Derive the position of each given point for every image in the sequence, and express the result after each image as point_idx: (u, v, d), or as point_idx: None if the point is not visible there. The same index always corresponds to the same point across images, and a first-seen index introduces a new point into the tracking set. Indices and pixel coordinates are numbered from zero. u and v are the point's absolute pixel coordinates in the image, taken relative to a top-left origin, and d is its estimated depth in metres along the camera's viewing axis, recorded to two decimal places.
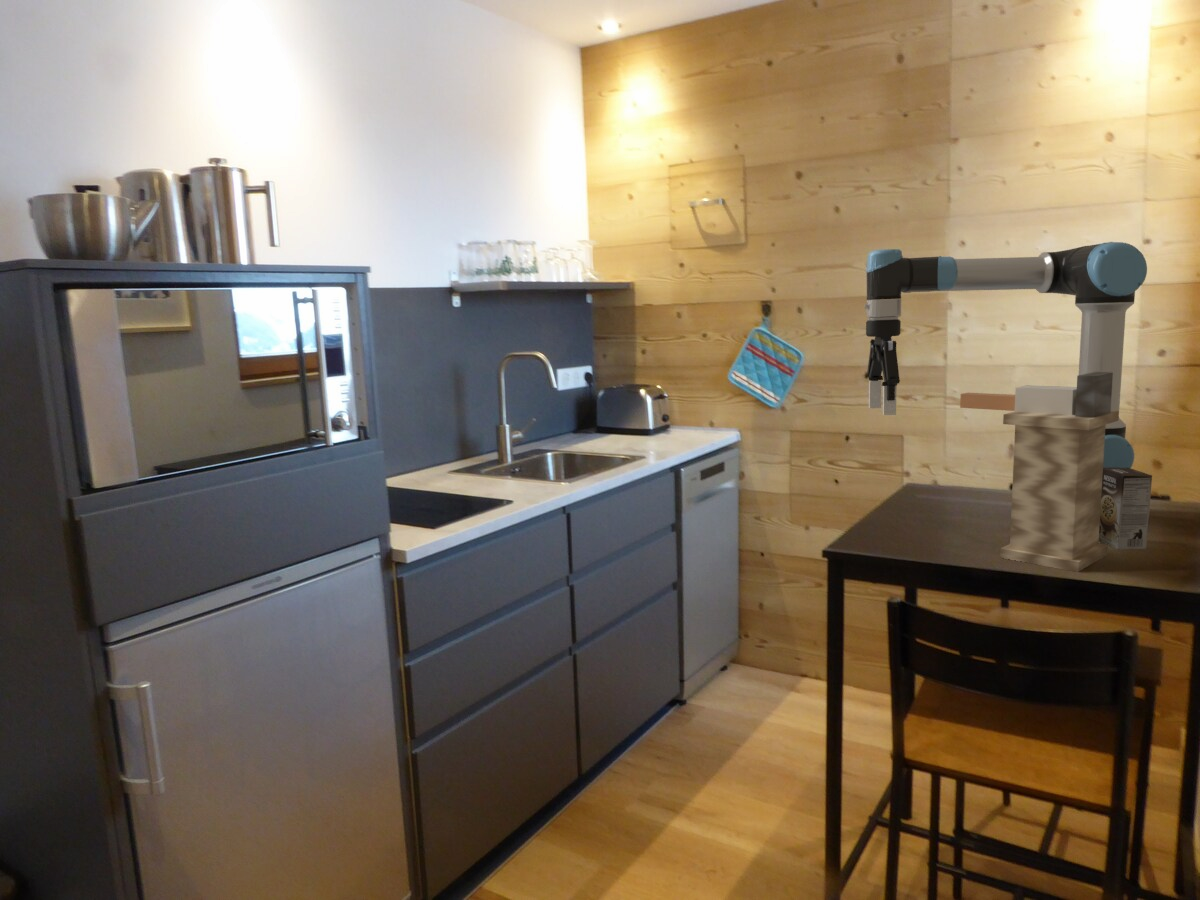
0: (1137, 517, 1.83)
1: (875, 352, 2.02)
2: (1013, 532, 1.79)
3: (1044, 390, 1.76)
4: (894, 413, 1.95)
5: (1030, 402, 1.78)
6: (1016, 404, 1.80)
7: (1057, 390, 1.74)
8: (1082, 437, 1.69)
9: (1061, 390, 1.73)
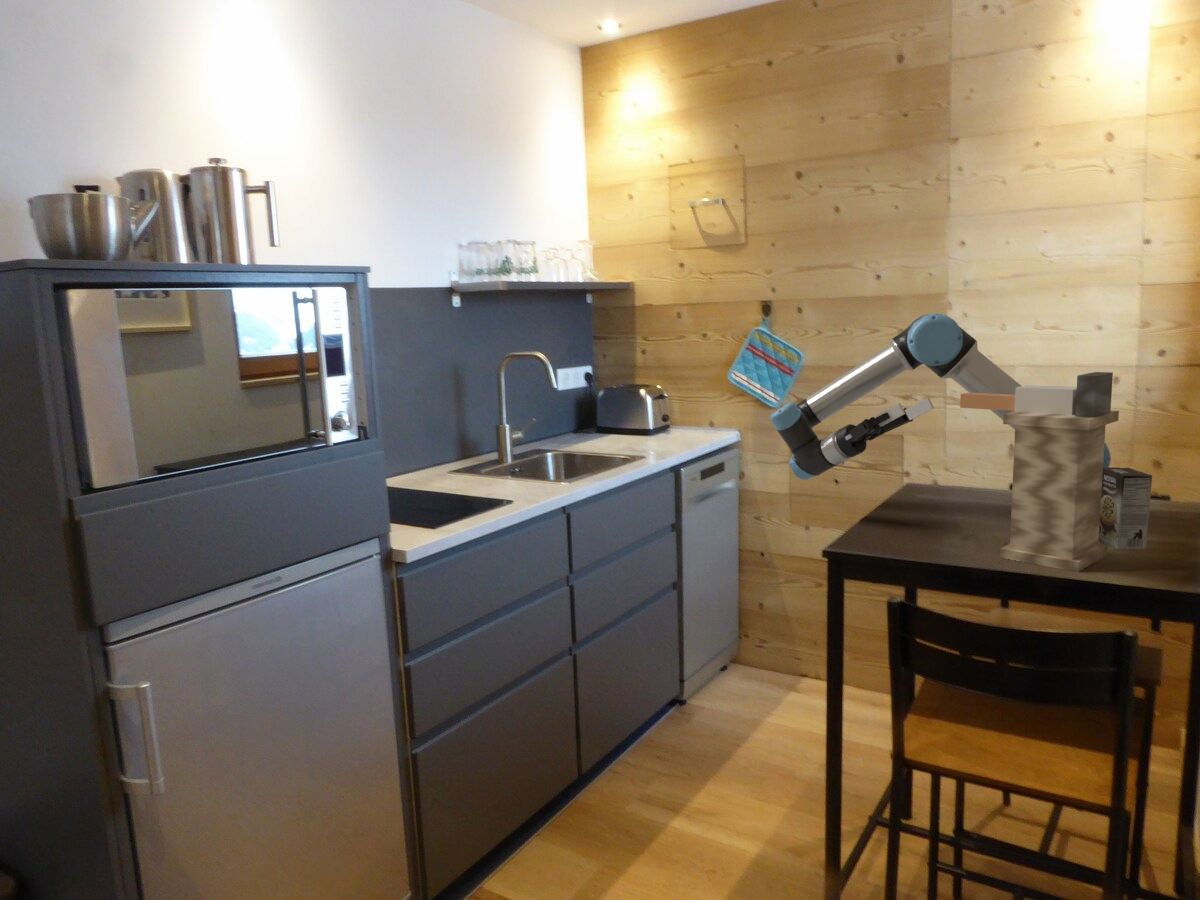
0: (1137, 517, 1.83)
1: (875, 434, 2.09)
2: (1013, 532, 1.79)
3: (1044, 390, 1.76)
4: (898, 405, 1.95)
5: (1030, 402, 1.78)
6: (1016, 404, 1.80)
7: (1057, 390, 1.74)
8: (1082, 437, 1.69)
9: (1061, 390, 1.73)
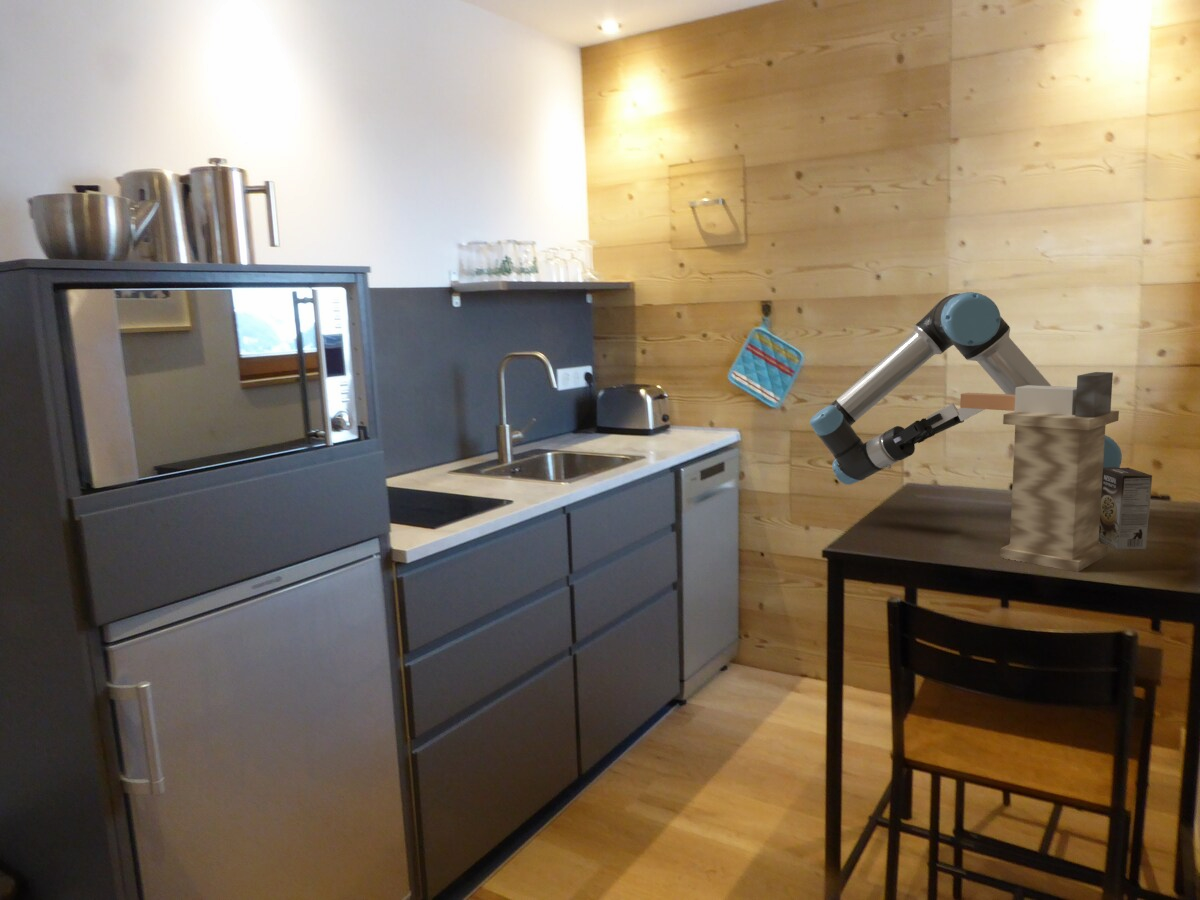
0: (1137, 517, 1.83)
1: (924, 437, 2.00)
2: (1013, 532, 1.79)
3: (1044, 390, 1.76)
4: (951, 405, 1.85)
5: (1030, 402, 1.78)
6: (1016, 404, 1.80)
7: (1057, 390, 1.74)
8: (1082, 437, 1.69)
9: (1061, 390, 1.73)
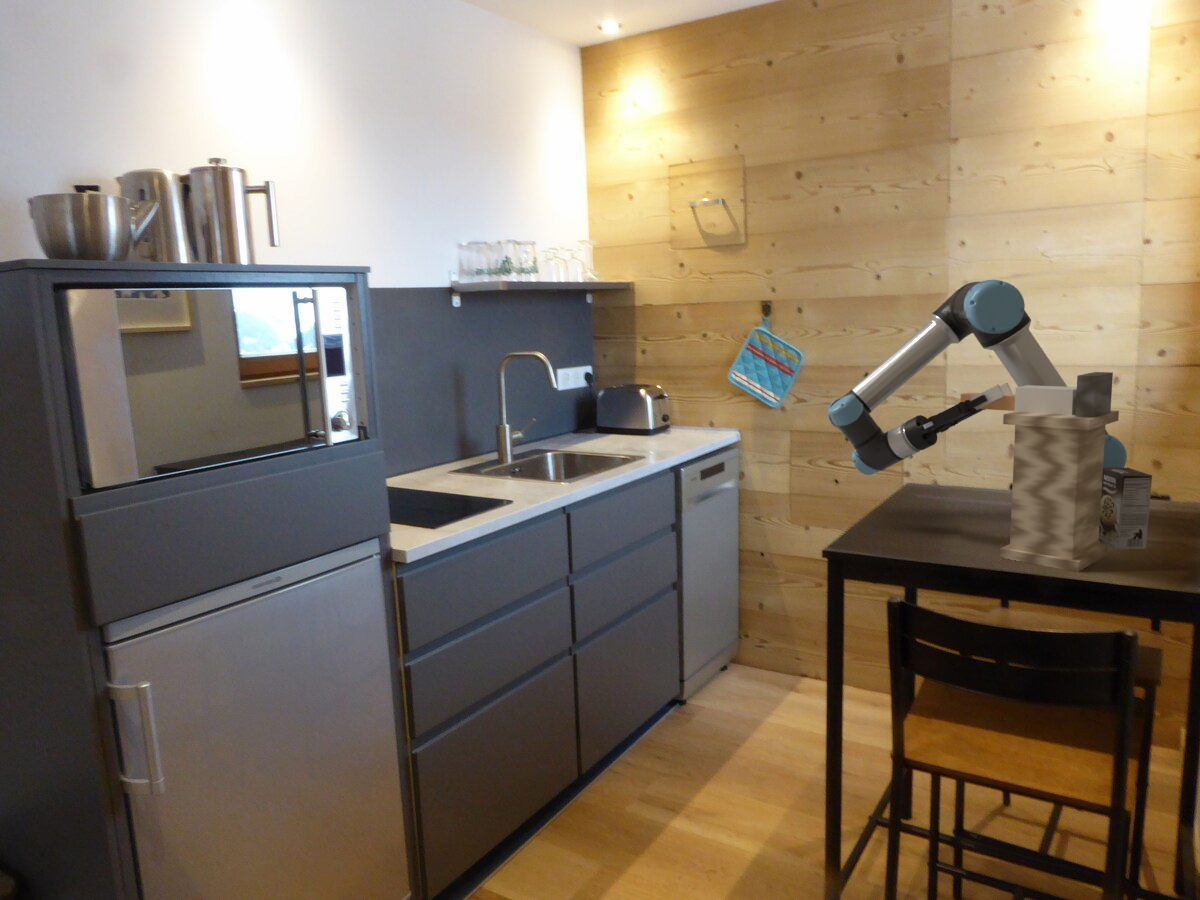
0: (1137, 517, 1.83)
1: (946, 426, 1.96)
2: (1013, 532, 1.79)
3: (1044, 390, 1.76)
4: (996, 386, 1.83)
5: (1030, 402, 1.78)
6: (1016, 404, 1.80)
7: (1057, 390, 1.74)
8: (1082, 437, 1.69)
9: (1061, 390, 1.73)
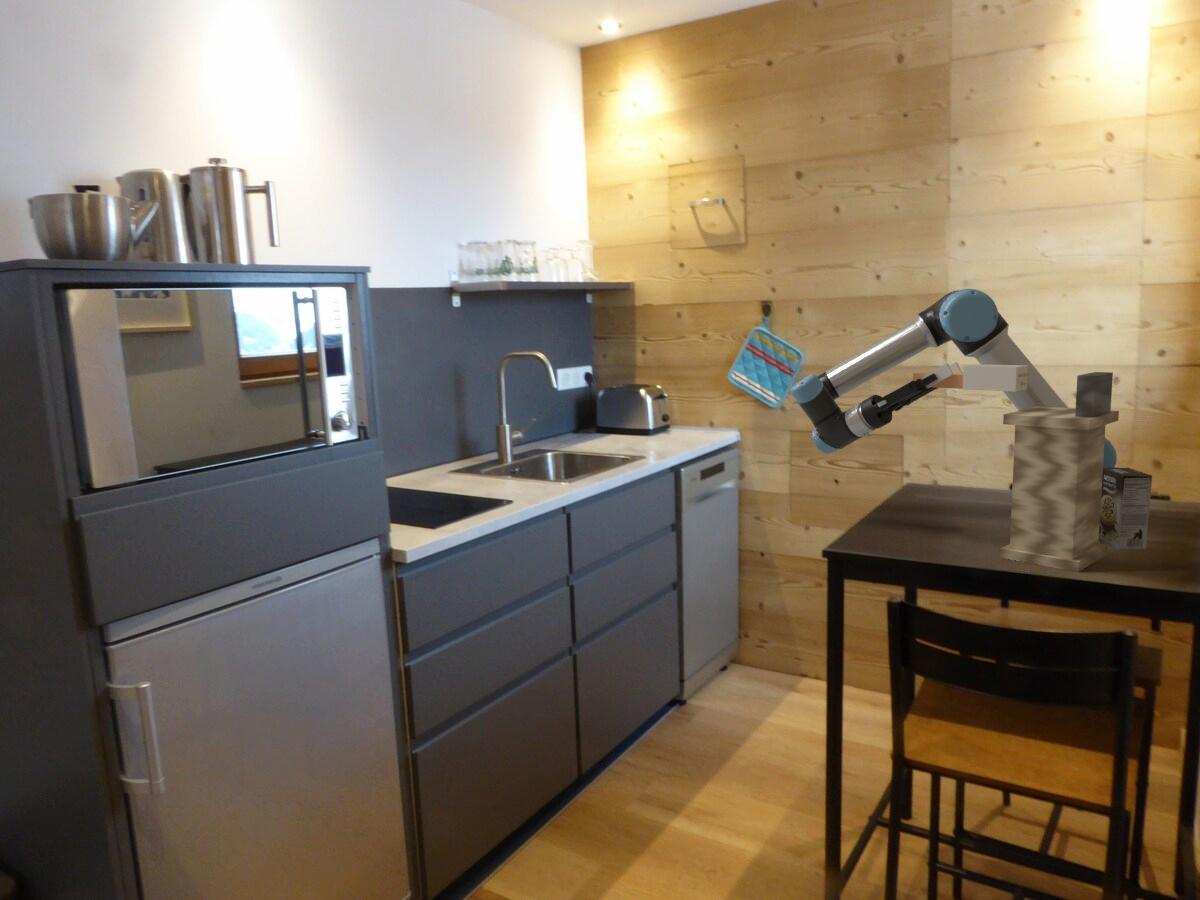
0: (1137, 517, 1.83)
1: None
2: (1013, 532, 1.79)
3: (990, 368, 1.83)
4: (946, 365, 1.90)
5: (977, 380, 1.85)
6: (964, 382, 1.87)
7: (1002, 368, 1.81)
8: (1082, 437, 1.69)
9: (1005, 368, 1.80)
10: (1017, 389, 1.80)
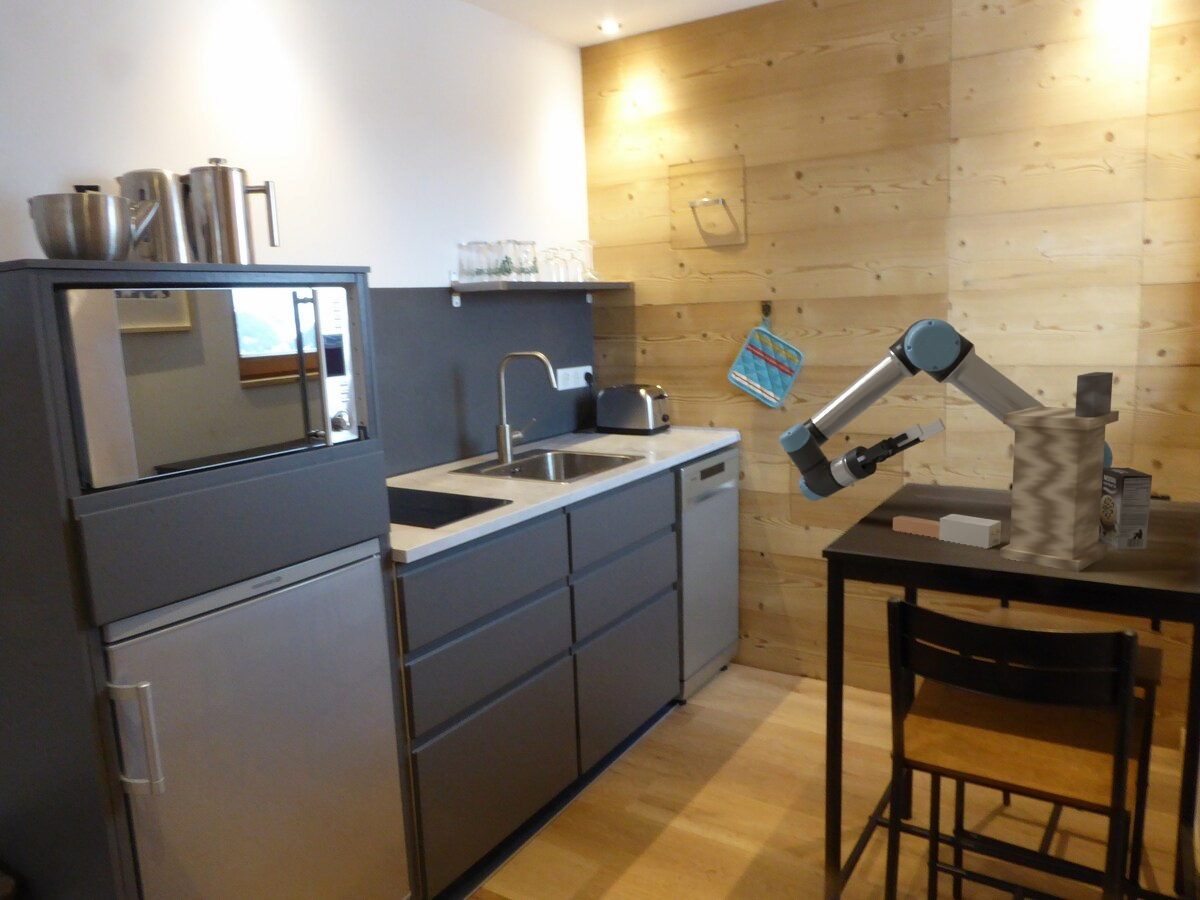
0: (1137, 517, 1.83)
1: (885, 457, 2.08)
2: (1013, 532, 1.79)
3: (964, 524, 1.91)
4: (916, 425, 1.94)
5: (952, 533, 1.94)
6: (940, 533, 1.96)
7: (975, 525, 1.90)
8: (1082, 437, 1.69)
9: (979, 525, 1.89)
10: (990, 546, 1.89)
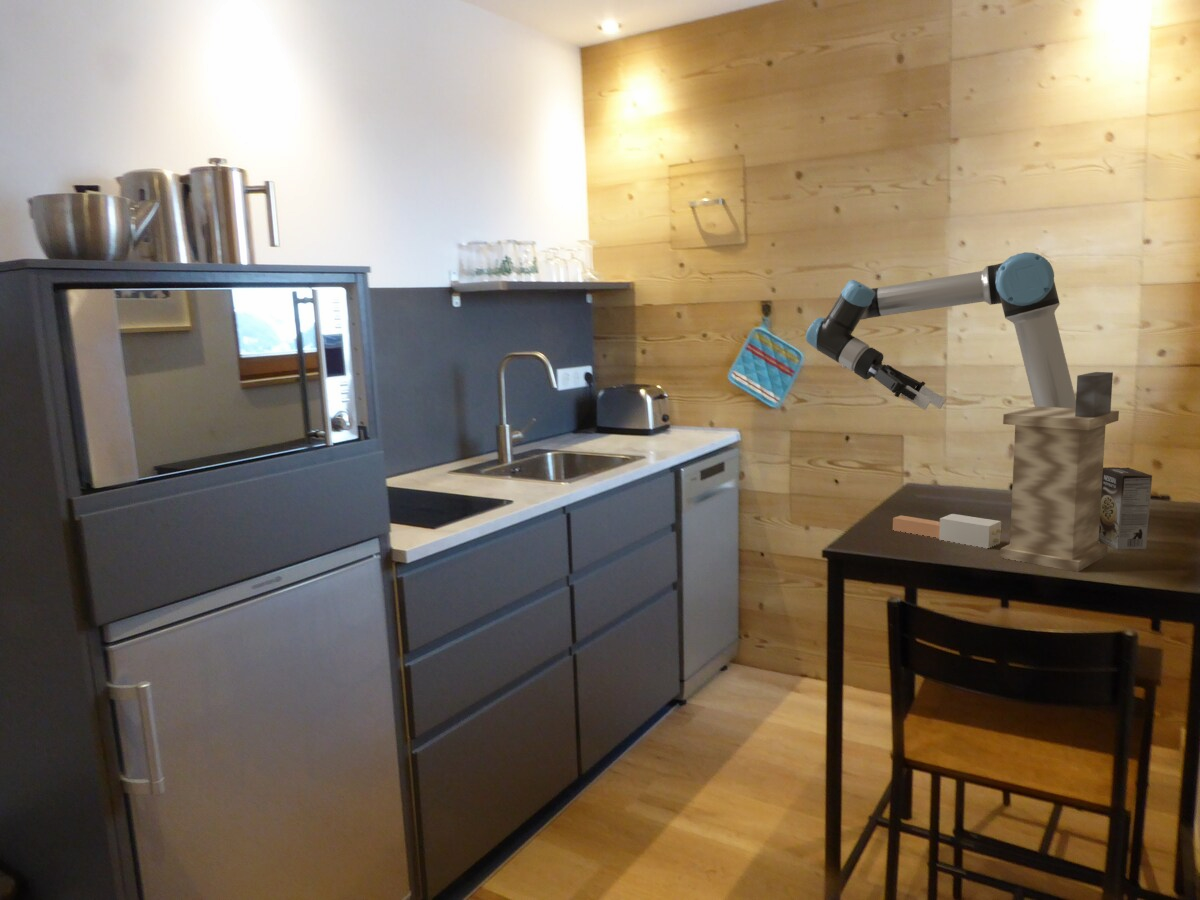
0: (1137, 517, 1.83)
1: None
2: (1013, 532, 1.79)
3: (964, 524, 1.91)
4: (928, 400, 2.03)
5: (952, 533, 1.94)
6: (940, 533, 1.96)
7: (975, 525, 1.90)
8: (1082, 437, 1.69)
9: (979, 525, 1.89)
10: (990, 546, 1.89)
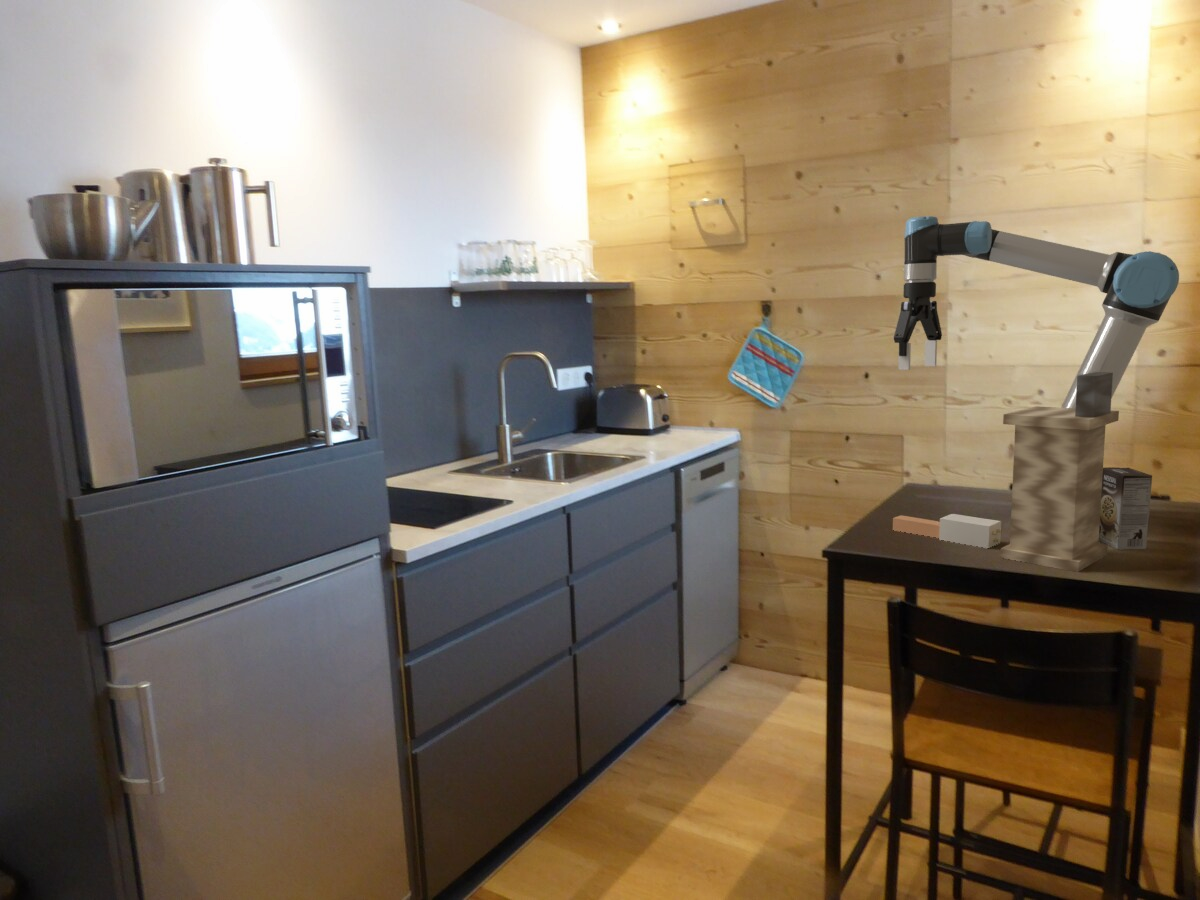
0: (1137, 517, 1.83)
1: None
2: (1013, 532, 1.79)
3: (964, 524, 1.91)
4: (907, 368, 2.13)
5: (952, 533, 1.94)
6: (940, 533, 1.96)
7: (975, 525, 1.90)
8: (1082, 437, 1.69)
9: (979, 525, 1.89)
10: (990, 546, 1.89)
